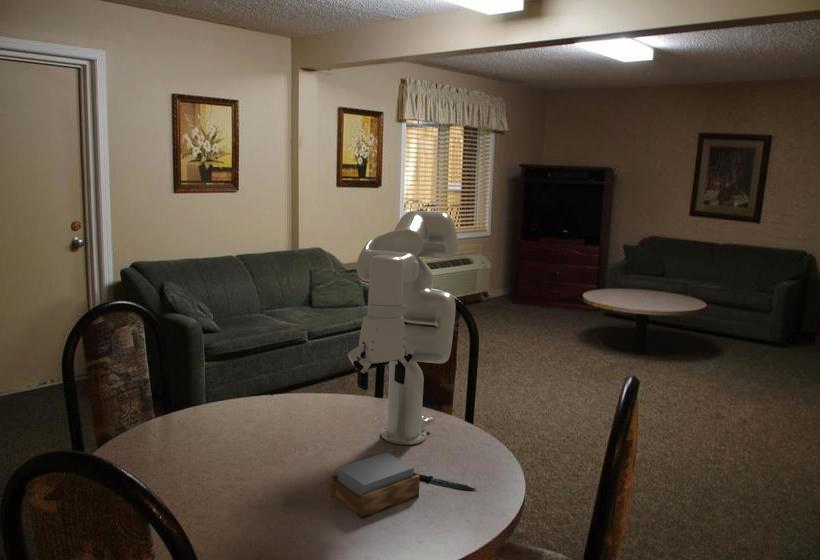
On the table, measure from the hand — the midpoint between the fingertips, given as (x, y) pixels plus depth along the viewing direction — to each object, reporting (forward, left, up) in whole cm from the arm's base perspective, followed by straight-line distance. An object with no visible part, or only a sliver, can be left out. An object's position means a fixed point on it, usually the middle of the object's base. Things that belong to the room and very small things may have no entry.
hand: (381, 385), depth 146 cm
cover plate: (+2, +2, -21) cm, 21 cm away
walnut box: (+2, +2, -25) cm, 25 cm away
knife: (-14, +5, -26) cm, 30 cm away
